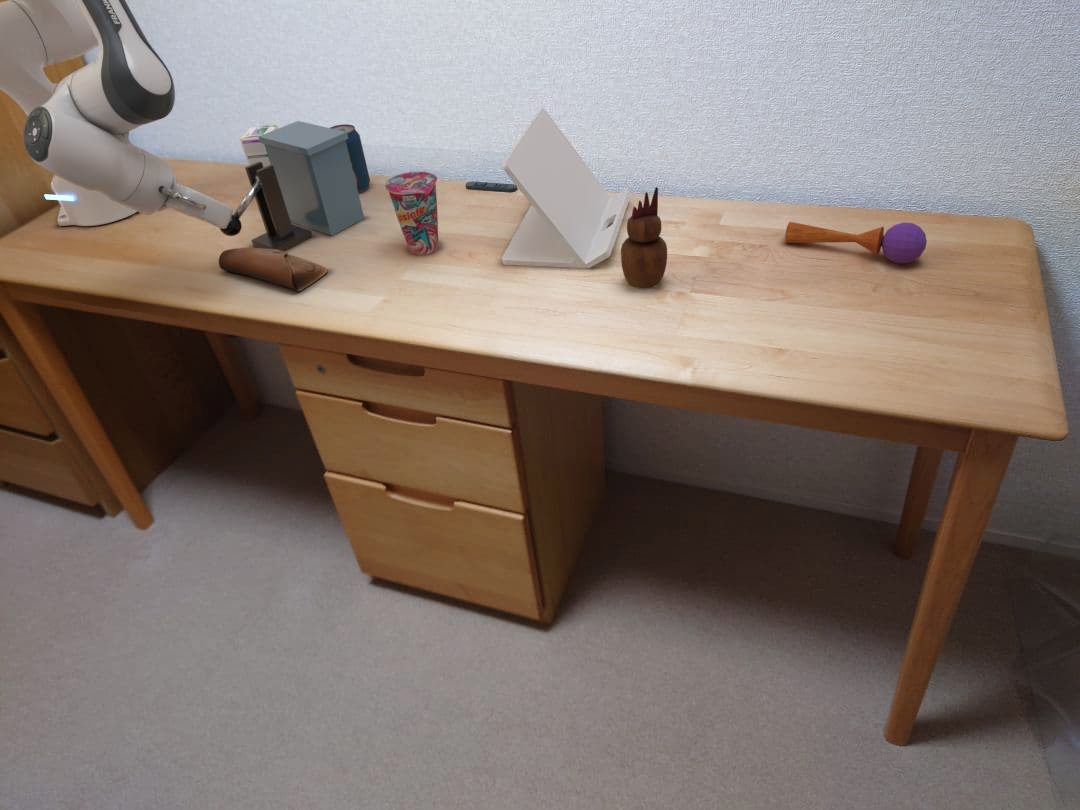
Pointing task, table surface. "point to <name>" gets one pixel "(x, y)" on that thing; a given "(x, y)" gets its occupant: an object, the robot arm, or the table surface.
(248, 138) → the syrup box
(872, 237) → the kendama
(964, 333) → the table surface
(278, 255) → the sunglasses case
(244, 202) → the flush lever
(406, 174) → the cup
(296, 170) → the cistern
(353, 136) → the soda can
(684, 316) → the table surface
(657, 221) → the wooden figurine
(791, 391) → the table surface
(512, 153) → the tablet stand
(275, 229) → the bracket
